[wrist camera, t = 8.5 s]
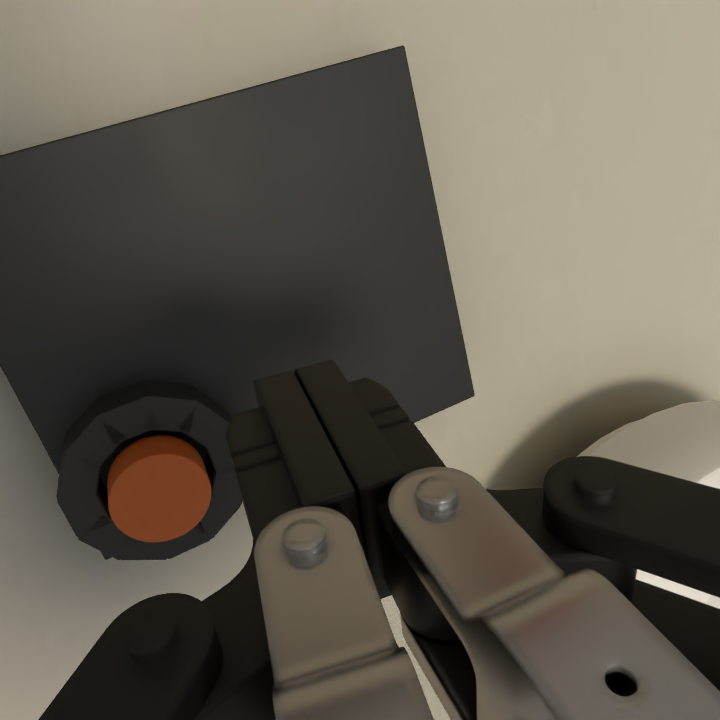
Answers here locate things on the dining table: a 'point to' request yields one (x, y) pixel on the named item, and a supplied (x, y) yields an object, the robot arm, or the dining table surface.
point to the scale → (221, 275)
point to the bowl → (670, 459)
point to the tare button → (158, 489)
